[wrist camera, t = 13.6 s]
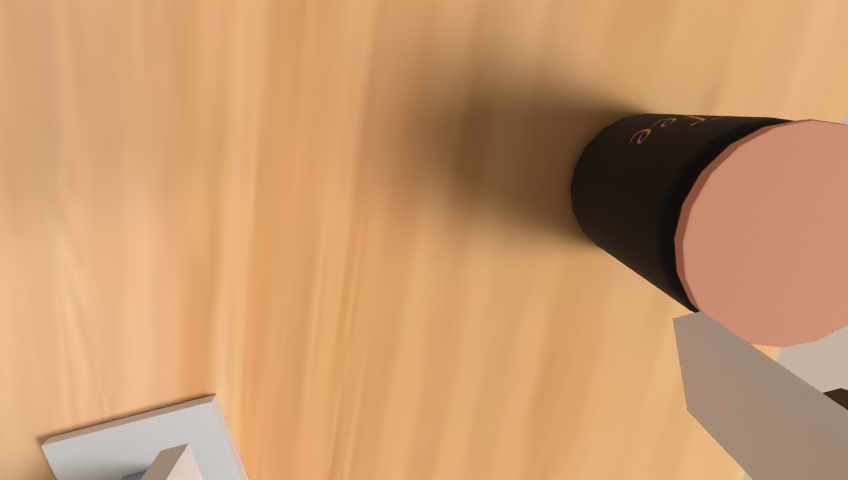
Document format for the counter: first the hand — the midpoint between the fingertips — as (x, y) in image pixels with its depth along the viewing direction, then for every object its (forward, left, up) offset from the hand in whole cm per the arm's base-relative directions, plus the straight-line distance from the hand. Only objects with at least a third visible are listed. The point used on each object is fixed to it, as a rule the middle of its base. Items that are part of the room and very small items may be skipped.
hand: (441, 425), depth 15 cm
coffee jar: (+2, +17, -29) cm, 34 cm away
